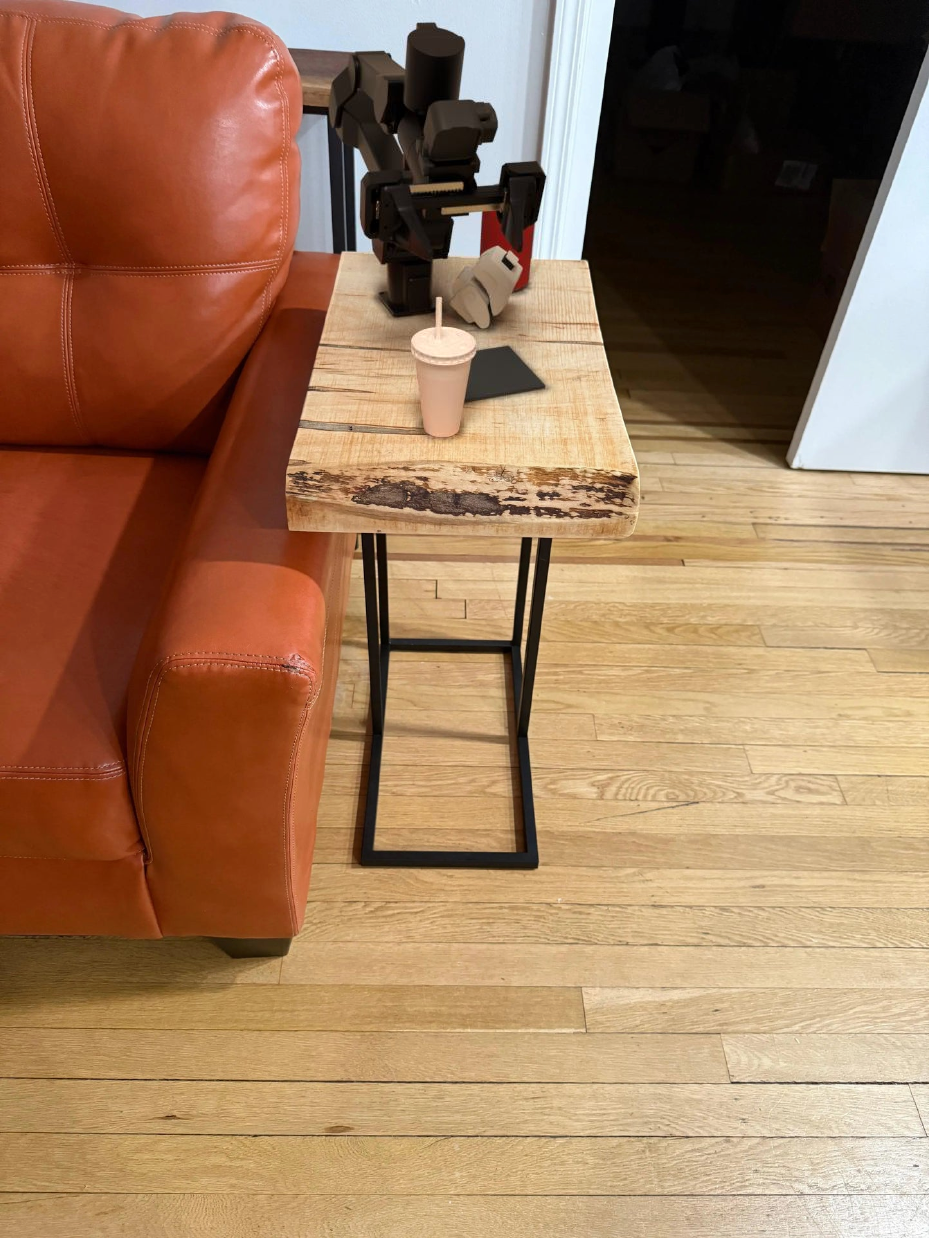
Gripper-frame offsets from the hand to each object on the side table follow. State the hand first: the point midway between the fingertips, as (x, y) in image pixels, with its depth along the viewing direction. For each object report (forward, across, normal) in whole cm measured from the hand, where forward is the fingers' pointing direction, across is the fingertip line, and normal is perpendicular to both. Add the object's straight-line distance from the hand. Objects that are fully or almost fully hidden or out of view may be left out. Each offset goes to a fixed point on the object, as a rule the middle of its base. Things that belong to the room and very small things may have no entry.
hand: (476, 253), depth 89 cm
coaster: (0, +4, +17) cm, 17 cm away
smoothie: (+9, -5, +14) cm, 17 cm away
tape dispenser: (-13, +8, +21) cm, 26 cm away
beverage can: (-22, +14, +23) cm, 35 cm away
